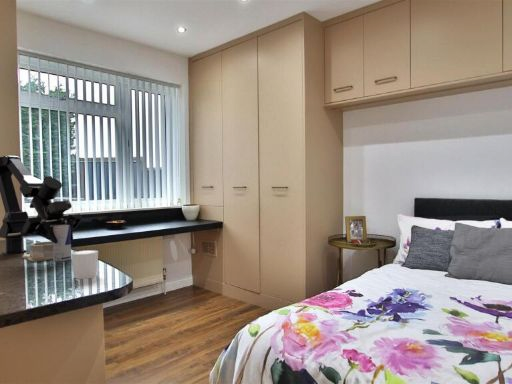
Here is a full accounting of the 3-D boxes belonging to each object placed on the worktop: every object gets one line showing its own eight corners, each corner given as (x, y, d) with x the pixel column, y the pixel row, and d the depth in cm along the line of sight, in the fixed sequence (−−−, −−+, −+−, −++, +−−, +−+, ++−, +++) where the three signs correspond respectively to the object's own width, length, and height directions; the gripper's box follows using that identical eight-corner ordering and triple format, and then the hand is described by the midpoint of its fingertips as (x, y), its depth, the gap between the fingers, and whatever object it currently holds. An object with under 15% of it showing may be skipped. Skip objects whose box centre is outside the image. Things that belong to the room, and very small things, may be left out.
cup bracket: (22, 257, 128) (22, 243, 128) (55, 253, 136) (55, 240, 136) (33, 261, 121) (33, 247, 121) (67, 256, 129) (67, 243, 129)
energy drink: (74, 258, 126) (73, 224, 126) (64, 261, 121) (64, 226, 120) (60, 258, 126) (59, 224, 126) (49, 261, 121) (49, 226, 121)
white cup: (71, 280, 96) (71, 255, 96) (71, 275, 102) (71, 251, 102) (99, 277, 99) (99, 252, 99) (97, 272, 106) (97, 248, 105)
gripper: (26, 193, 117) (46, 228, 112) (79, 192, 133) (98, 223, 128) (14, 216, 121) (33, 251, 116) (66, 212, 137) (85, 243, 132)
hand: (64, 241), depth 123 cm, fingers closed on energy drink, 5 cm apart
